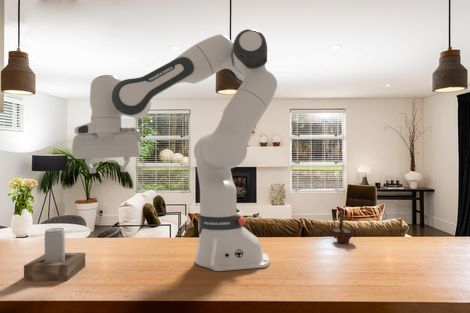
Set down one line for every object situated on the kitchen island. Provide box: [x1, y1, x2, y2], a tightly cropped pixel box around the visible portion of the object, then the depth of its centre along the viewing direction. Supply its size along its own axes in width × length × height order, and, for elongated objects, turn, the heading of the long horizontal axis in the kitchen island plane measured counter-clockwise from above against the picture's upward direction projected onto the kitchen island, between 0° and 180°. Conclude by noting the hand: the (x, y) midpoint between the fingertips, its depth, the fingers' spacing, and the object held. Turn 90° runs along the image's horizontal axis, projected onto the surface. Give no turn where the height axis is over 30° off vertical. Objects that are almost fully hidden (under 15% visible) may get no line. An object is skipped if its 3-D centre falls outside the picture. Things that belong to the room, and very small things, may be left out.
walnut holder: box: [23, 252, 86, 282], centre depth 91 cm, size 11×11×4 cm
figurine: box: [329, 209, 354, 244], centre depth 123 cm, size 10×8×12 cm
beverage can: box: [44, 227, 66, 263], centre depth 91 cm, size 5×5×12 cm
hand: (108, 172), depth 104 cm, fingers open, 8 cm apart
